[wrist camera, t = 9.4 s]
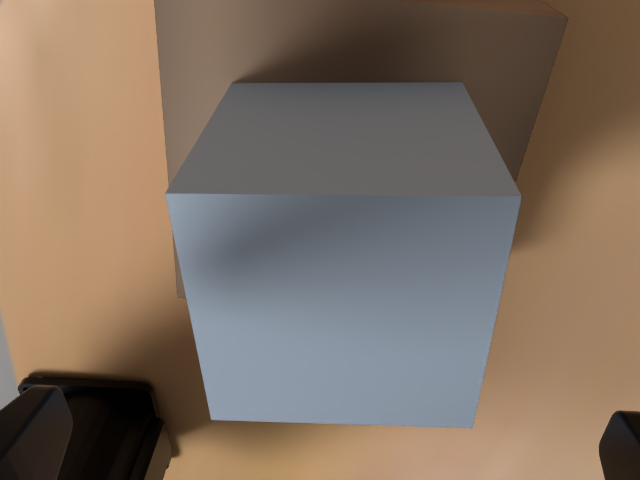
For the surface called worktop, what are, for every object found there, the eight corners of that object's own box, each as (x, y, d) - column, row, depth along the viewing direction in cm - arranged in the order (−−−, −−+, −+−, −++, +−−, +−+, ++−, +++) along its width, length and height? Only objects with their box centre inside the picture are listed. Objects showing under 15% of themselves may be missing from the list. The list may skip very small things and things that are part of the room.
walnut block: (204, 233, 22) (177, 297, 18) (192, -45, 16) (152, -24, 13) (451, 257, 22) (468, 325, 19) (524, -11, 16) (568, 18, 13)
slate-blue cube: (251, 266, 18) (211, 419, 13) (231, 83, 14) (165, 193, 9) (438, 269, 17) (472, 428, 12) (462, 82, 14) (521, 196, 9)
